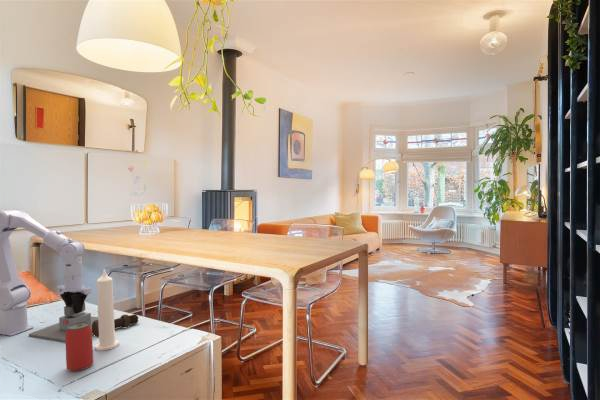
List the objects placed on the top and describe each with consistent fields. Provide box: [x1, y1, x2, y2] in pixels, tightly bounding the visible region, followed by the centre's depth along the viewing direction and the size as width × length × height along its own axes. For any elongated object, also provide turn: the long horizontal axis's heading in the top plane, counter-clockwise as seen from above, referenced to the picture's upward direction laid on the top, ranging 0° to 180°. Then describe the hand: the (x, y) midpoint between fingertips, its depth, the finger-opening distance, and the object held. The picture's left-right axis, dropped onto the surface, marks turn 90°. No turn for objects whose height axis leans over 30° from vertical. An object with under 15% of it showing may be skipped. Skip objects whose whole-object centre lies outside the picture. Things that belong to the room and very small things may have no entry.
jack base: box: [28, 311, 98, 343], centre depth 134 cm, size 20×20×5 cm
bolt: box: [92, 314, 139, 337], centre depth 133 cm, size 6×5×15 cm
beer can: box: [64, 322, 94, 372], centre depth 105 cm, size 7×7×12 cm
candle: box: [94, 269, 121, 352], centre depth 118 cm, size 7×7×25 cm
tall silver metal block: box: [63, 301, 86, 318], centre depth 134 cm, size 4×6×8 cm
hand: (75, 312), depth 134 cm, fingers closed on tall silver metal block, 3 cm apart
